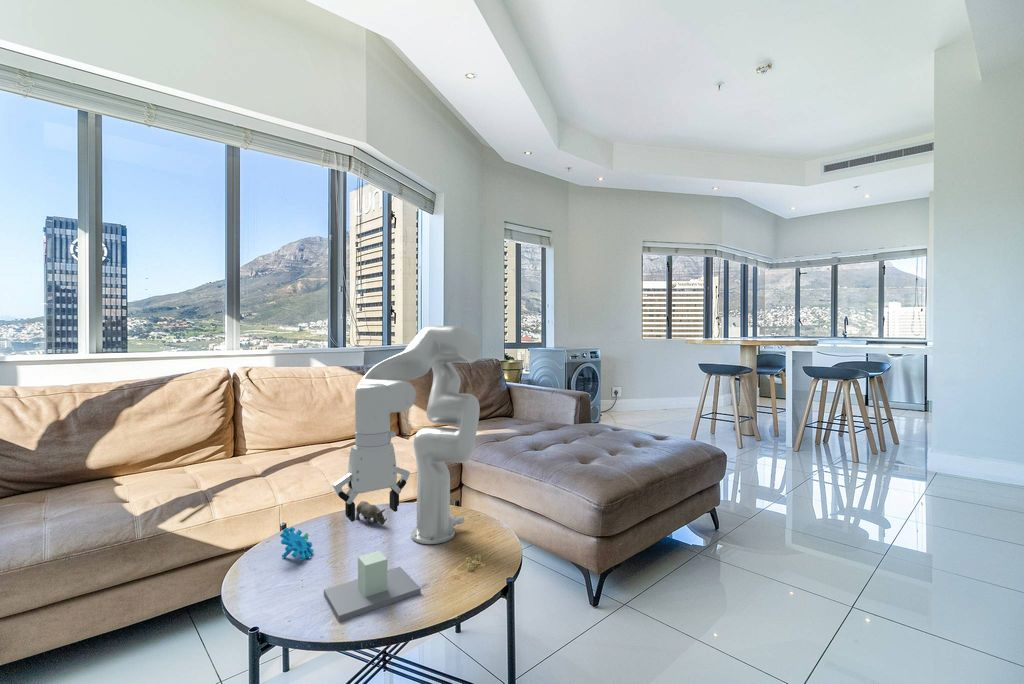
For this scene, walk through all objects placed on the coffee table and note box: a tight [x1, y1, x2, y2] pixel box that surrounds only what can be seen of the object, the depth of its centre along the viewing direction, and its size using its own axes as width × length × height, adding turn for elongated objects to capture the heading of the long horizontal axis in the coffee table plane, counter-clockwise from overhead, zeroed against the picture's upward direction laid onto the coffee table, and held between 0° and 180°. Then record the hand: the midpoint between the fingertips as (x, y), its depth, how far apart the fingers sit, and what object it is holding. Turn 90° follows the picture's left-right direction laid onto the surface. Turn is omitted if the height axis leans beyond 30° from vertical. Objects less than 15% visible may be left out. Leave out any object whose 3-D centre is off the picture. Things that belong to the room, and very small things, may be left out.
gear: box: [279, 526, 314, 561], centre depth 122 cm, size 11×6×10 cm
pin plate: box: [323, 566, 422, 622], centre depth 104 cm, size 18×12×4 cm, turn 126°
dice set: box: [465, 554, 486, 572], centre depth 118 cm, size 5×5×2 cm
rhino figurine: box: [355, 500, 388, 526], centre depth 144 cm, size 4×14×6 cm, turn 54°
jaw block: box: [357, 550, 388, 597], centre depth 104 cm, size 5×5×7 cm
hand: (372, 514), depth 104 cm, fingers open, 9 cm apart
